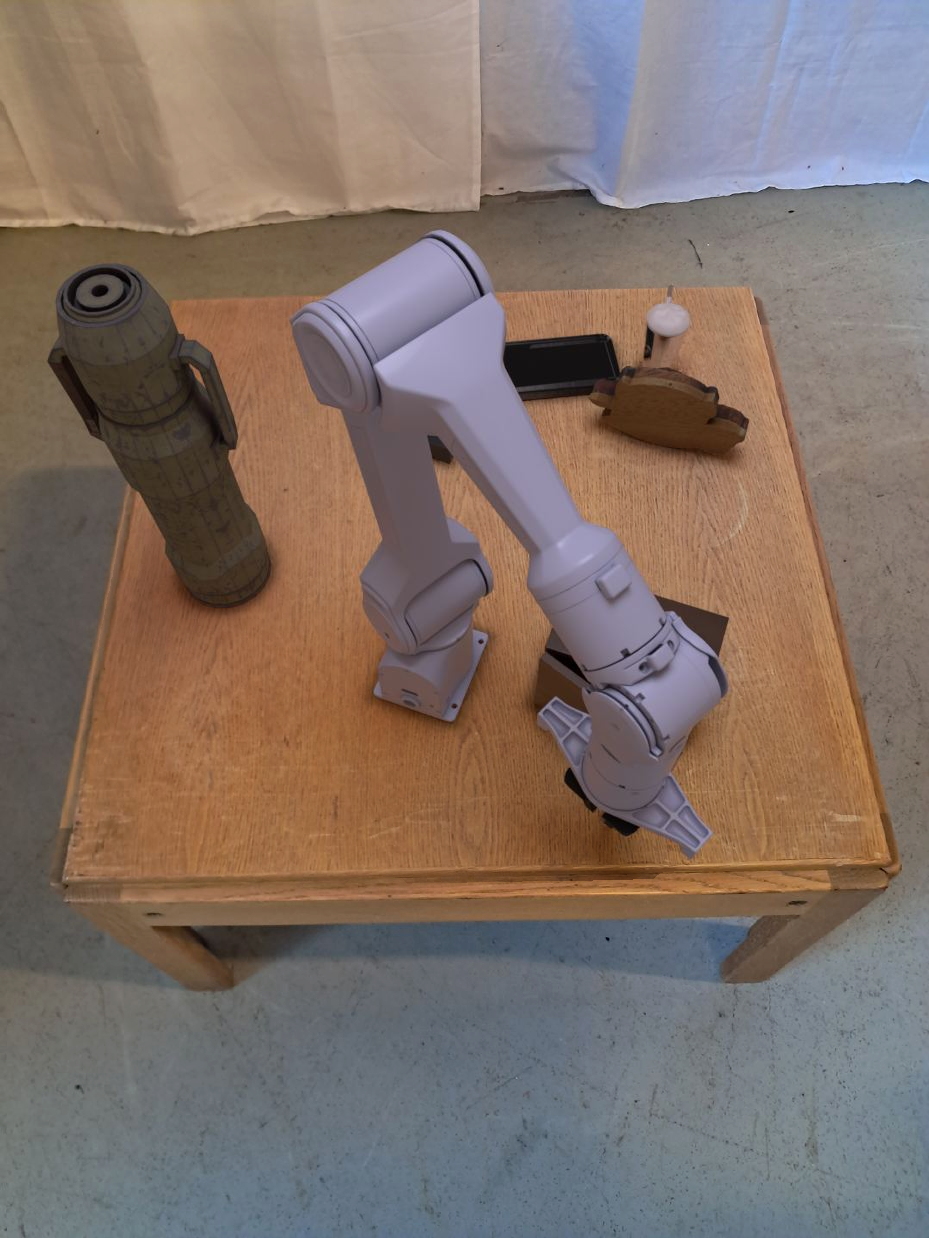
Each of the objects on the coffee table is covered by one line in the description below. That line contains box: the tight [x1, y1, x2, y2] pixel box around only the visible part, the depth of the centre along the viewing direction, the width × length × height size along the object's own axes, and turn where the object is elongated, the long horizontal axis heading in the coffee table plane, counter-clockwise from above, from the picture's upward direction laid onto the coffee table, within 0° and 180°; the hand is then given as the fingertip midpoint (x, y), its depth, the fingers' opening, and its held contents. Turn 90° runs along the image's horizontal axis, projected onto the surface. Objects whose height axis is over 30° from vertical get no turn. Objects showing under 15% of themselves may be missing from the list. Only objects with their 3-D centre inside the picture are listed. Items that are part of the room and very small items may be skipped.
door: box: [533, 652, 684, 826], centre depth 76 cm, size 6×14×9 cm, turn 49°
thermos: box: [46, 262, 272, 609], centre depth 75 cm, size 9×12×35 cm
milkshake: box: [641, 283, 691, 369], centre depth 98 cm, size 5×5×10 cm
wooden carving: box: [588, 365, 750, 456], centre depth 93 cm, size 16×5×10 cm, turn 76°
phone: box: [503, 333, 621, 401], centre depth 102 cm, size 8×1×15 cm
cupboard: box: [543, 594, 730, 684], centre depth 80 cm, size 8×14×10 cm, turn 69°
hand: (606, 809), depth 72 cm, fingers closed
